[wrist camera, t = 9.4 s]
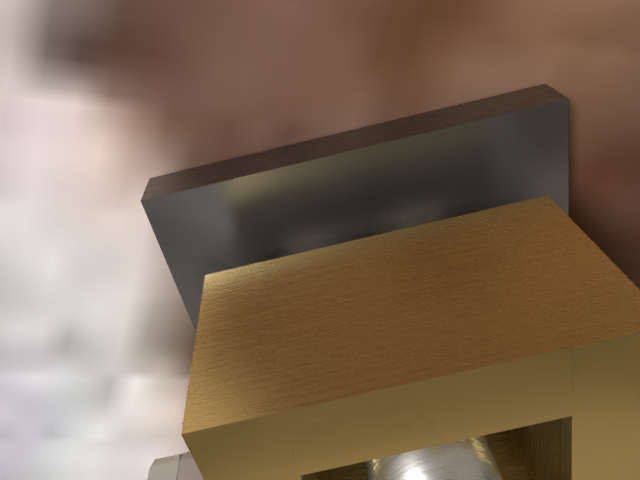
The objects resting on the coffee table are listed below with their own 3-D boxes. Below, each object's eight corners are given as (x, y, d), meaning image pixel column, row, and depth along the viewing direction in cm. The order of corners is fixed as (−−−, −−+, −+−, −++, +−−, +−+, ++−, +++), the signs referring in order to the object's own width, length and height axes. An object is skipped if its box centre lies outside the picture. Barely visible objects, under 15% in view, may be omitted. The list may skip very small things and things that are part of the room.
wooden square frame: (205, 275, 10) (182, 434, 7) (547, 195, 10) (673, 324, 7) (288, 490, 13) (296, 666, 10) (552, 432, 13) (640, 594, 10)
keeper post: (149, 178, 12) (61, 399, 7) (545, 83, 11) (780, 235, 6) (256, 443, 16) (254, 710, 11) (550, 378, 15) (696, 619, 10)
